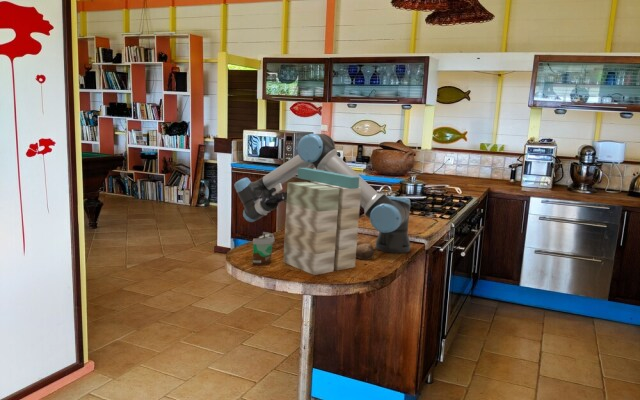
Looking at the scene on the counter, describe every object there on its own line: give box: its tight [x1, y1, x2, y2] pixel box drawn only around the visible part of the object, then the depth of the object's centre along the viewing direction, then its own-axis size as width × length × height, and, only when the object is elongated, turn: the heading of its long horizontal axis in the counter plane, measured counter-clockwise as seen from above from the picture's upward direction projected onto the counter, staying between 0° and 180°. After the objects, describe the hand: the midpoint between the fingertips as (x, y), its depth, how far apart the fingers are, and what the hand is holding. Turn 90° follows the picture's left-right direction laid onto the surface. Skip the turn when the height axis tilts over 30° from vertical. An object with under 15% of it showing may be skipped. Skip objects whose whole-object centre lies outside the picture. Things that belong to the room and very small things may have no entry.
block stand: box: [282, 181, 361, 276], centre depth 186 cm, size 18×20×30 cm
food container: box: [252, 231, 276, 266], centre depth 186 cm, size 12×6×10 cm, turn 168°
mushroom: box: [356, 242, 375, 261], centre depth 202 cm, size 8×8×6 cm
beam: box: [297, 167, 359, 189], centre depth 191 cm, size 30×4×4 cm, turn 41°
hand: (294, 185), depth 205 cm, fingers open, 13 cm apart
